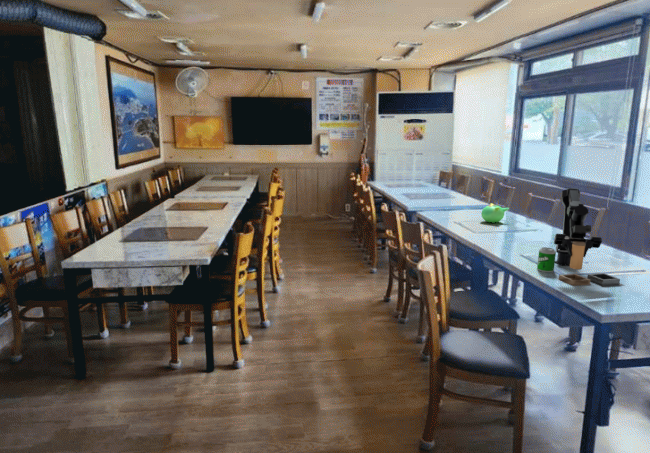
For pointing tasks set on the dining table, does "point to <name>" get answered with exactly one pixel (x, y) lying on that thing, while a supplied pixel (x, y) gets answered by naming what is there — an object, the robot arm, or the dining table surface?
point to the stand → (574, 279)
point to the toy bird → (493, 213)
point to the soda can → (546, 259)
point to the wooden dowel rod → (577, 255)
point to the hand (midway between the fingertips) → (577, 256)
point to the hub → (604, 280)
